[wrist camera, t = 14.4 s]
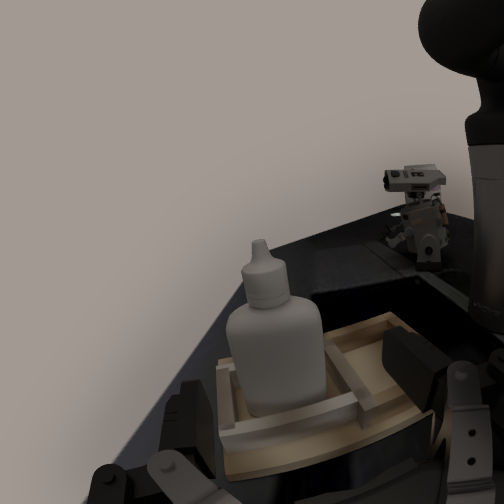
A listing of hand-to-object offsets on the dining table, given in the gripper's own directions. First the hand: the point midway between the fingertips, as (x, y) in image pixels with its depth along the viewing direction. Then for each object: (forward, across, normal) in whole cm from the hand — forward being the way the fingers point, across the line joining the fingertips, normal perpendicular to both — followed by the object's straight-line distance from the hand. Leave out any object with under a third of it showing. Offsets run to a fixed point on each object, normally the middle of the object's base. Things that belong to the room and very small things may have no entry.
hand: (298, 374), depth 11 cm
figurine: (+26, -27, +9) cm, 38 cm away
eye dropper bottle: (+6, 0, +8) cm, 9 cm away
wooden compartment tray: (+7, -4, +8) cm, 11 cm away
